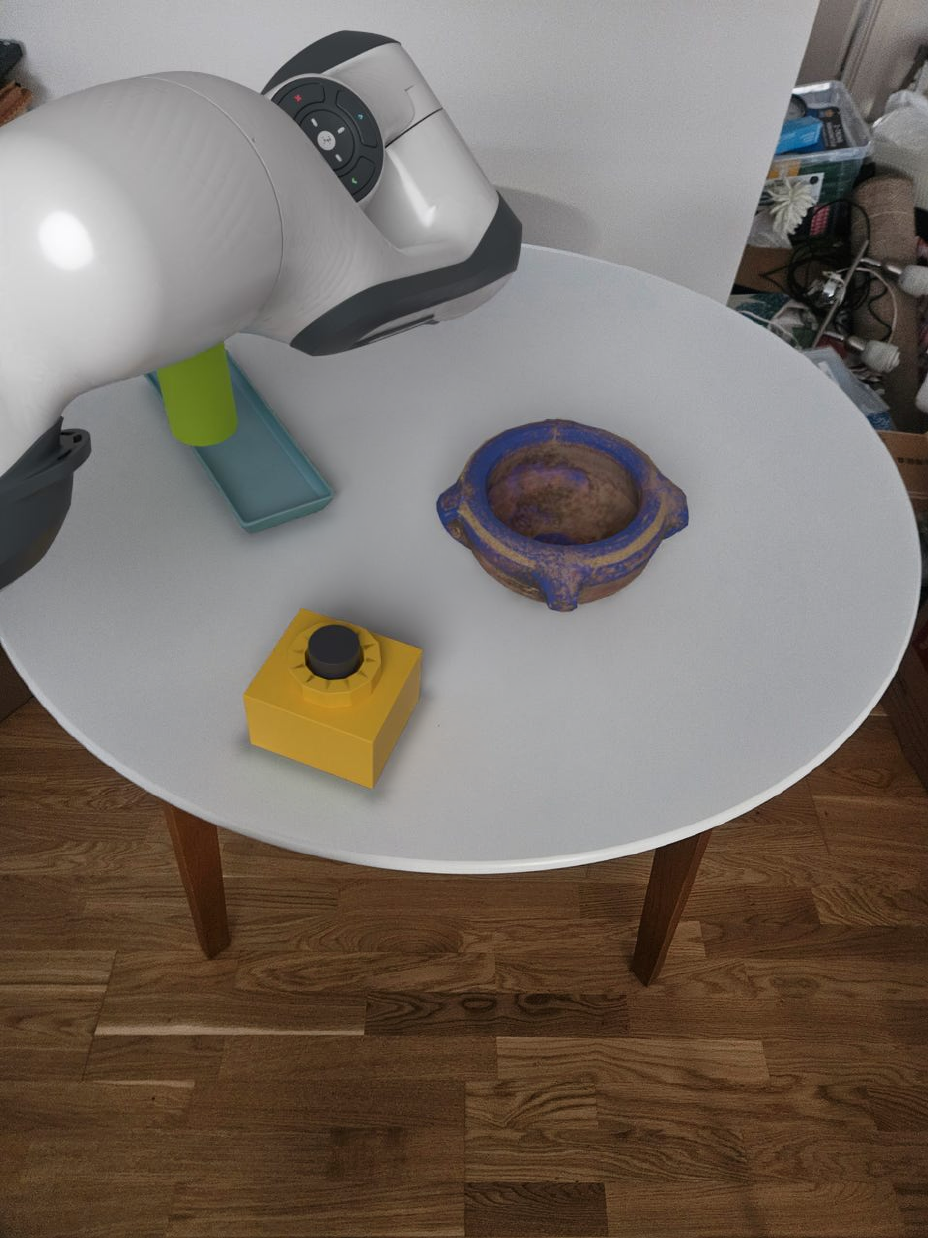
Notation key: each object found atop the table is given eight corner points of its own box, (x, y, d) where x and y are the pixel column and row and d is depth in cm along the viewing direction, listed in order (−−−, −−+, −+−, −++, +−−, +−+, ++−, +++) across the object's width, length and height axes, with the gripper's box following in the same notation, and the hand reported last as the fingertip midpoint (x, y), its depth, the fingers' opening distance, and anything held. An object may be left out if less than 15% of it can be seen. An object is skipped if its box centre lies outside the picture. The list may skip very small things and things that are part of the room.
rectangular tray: (142, 385, 100) (138, 364, 98) (227, 363, 103) (224, 342, 101) (244, 547, 86) (241, 527, 84) (338, 515, 90) (337, 495, 88)
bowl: (409, 547, 87) (413, 462, 80) (553, 471, 96) (569, 387, 88) (544, 675, 79) (563, 593, 72) (689, 579, 88) (719, 497, 80)
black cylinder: (300, 669, 68) (298, 654, 67) (322, 633, 71) (322, 618, 69) (346, 686, 68) (346, 671, 66) (368, 649, 70) (368, 634, 69)
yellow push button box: (250, 743, 73) (239, 679, 67) (305, 657, 79) (299, 591, 72) (372, 789, 71) (373, 728, 65) (419, 698, 77) (423, 633, 71)
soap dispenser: (152, 416, 87) (95, 201, 72) (227, 397, 89) (188, 185, 74) (168, 456, 84) (113, 240, 69) (246, 436, 86) (209, 222, 71)
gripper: (118, 341, 62) (77, 393, 74) (367, 247, 72) (296, 306, 84) (67, 246, 61) (33, 314, 73) (328, 164, 71) (261, 235, 83)
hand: (176, 309), depth 78 cm, fingers closed on soap dispenser, 6 cm apart
